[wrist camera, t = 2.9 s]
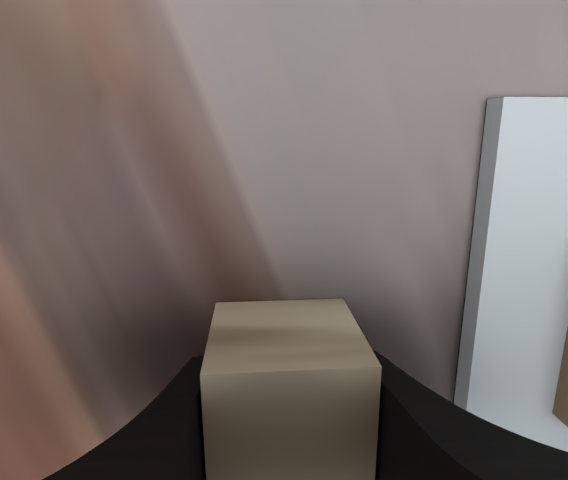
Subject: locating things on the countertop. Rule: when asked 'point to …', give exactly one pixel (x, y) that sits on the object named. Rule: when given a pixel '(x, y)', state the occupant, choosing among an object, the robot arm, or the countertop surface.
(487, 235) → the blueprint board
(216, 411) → the maple block
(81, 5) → the countertop surface
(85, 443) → the countertop surface
